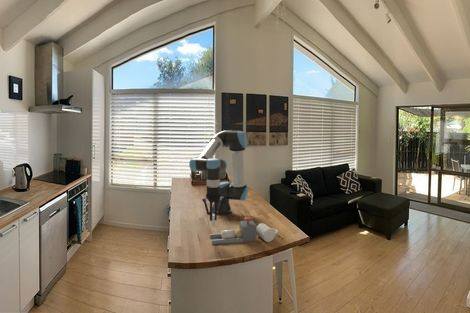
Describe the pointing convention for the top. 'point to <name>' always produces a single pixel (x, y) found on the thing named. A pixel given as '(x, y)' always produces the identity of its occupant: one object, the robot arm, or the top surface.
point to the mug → (266, 232)
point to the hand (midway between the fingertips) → (213, 225)
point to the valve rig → (238, 233)
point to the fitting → (227, 234)
